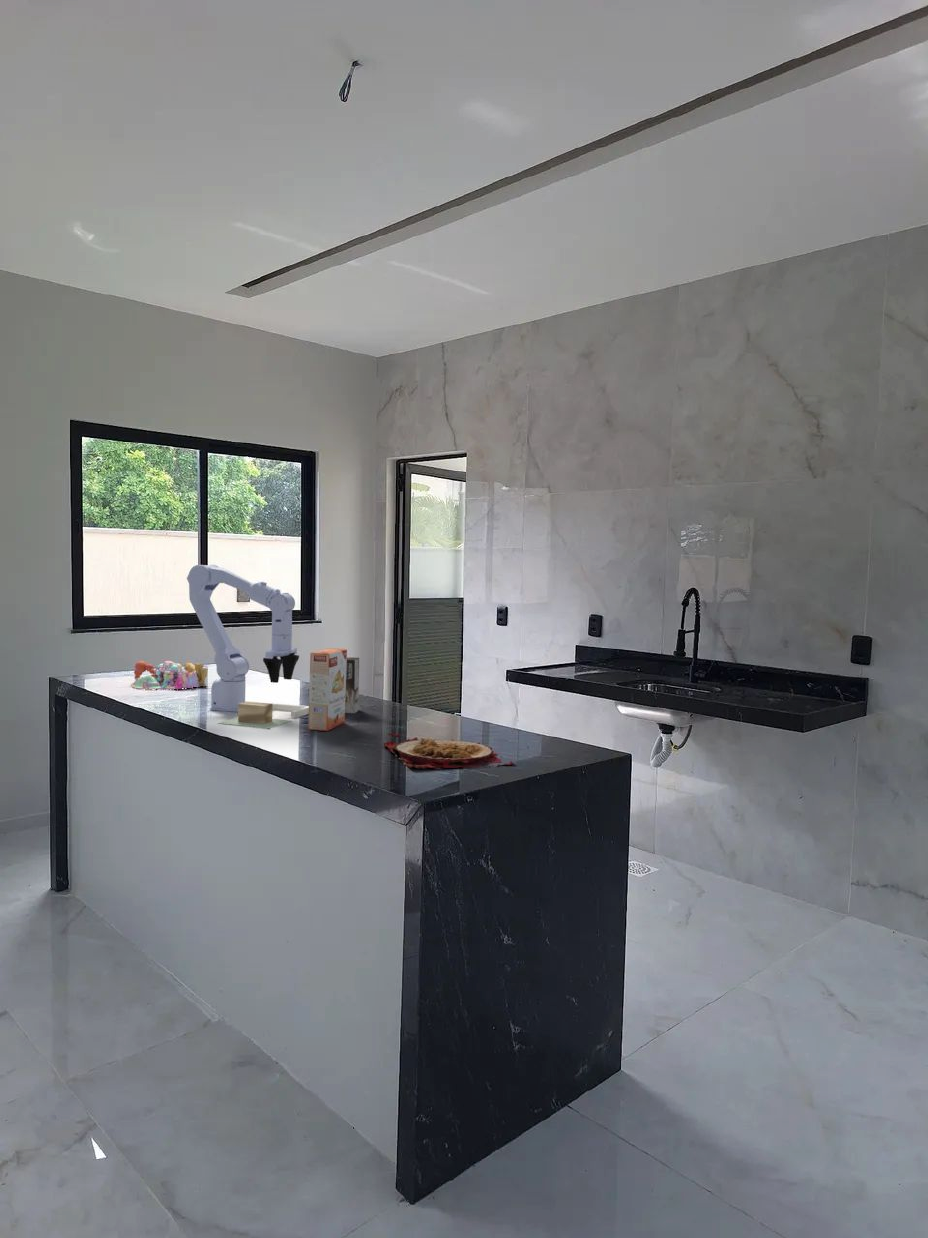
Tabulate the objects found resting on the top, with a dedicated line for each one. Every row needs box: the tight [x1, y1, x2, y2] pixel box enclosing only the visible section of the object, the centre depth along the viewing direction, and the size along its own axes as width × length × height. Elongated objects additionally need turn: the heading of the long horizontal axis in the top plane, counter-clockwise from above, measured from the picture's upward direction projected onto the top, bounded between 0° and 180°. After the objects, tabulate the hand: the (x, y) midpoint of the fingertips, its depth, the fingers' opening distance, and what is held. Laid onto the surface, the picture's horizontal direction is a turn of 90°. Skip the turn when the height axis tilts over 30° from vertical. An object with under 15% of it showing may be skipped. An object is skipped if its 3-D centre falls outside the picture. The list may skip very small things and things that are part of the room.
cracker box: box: [307, 648, 348, 732], centre depth 238 cm, size 14×6×21 cm, turn 168°
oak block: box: [237, 701, 273, 724], centre depth 241 cm, size 4×8×5 cm, turn 71°
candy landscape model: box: [130, 660, 208, 691], centre depth 304 cm, size 25×24×9 cm
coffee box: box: [345, 656, 360, 714], centre depth 262 cm, size 9×6×16 cm
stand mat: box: [217, 716, 293, 730], centre depth 241 cm, size 16×12×1 cm
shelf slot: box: [271, 702, 309, 720], centre depth 255 cm, size 13×11×2 cm
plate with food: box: [381, 733, 515, 770], centre depth 207 cm, size 25×26×4 cm
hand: (281, 680), depth 257 cm, fingers open, 7 cm apart
